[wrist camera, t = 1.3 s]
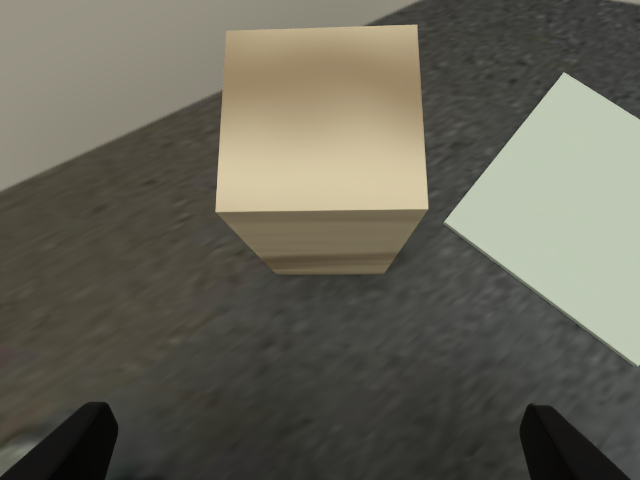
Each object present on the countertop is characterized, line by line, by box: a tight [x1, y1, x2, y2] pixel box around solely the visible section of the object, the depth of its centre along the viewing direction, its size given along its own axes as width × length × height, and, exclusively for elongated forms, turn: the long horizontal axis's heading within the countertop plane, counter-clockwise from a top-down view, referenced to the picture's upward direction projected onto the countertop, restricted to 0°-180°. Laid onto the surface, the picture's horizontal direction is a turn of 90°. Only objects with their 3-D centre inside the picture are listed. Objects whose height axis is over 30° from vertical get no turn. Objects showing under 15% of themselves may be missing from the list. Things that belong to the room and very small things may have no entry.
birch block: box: [216, 25, 428, 275], centre depth 18 cm, size 6×6×12 cm
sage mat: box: [443, 73, 640, 366], centre depth 23 cm, size 12×12×1 cm
